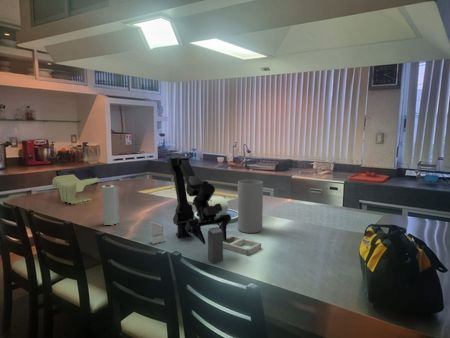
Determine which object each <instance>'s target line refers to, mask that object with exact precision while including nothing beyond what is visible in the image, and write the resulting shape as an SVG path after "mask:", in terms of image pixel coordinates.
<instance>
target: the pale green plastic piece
mask: <svg viewBox="0 0 450 338" xmlns="http://www.w3.org/2000/svg"><path fill="white" fill-rule="evenodd" d="M98 182H99V177H94V178H86V179H79V178H78V177H77V176H76V175H75V174H73V173H72V174H71V173H70V174H65V175H59V176H58V175H57V176H55V177H53V178H52V188H57V190H58V191H59V195H60V200H61V202H62V203H65V202H67V203H66V204H69V203H71V204H70V205H73V203H78V202H82V201H87V200H92V198H91V197H87V196H78V197H76V195H77V193H79V192H83V191H84V189H85V187H86V186H91V185H93V184H96V183H98Z"/></svg>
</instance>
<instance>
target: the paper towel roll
mask: <svg viewBox="0 0 450 338" xmlns="http://www.w3.org/2000/svg"><path fill="white" fill-rule="evenodd" d="M101 196H102V198H101V199H102V211H103V212H102V213H103V214H102V217H103V225H104V226H105V225H111V226H115V225H114V224H116V225H118V224H117V223H119V224H120V223H121V222H120V221H121V220H120V217H121V216H120V203H119V202H120V199H119V186H118V185H115V186H114V184H110V185H109V184H108V185H102V186H101Z"/></svg>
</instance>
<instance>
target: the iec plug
mask: <svg viewBox="0 0 450 338" xmlns="http://www.w3.org/2000/svg"><path fill="white" fill-rule="evenodd" d="M207 261H208V262H210V263H211V264H212V265H214V264H219V263H222V262H221V261H223V262H224V248H223V232H222V229H220V228H219V226H216V227H210V228H208V230H207ZM218 262H219V263H218Z"/></svg>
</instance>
